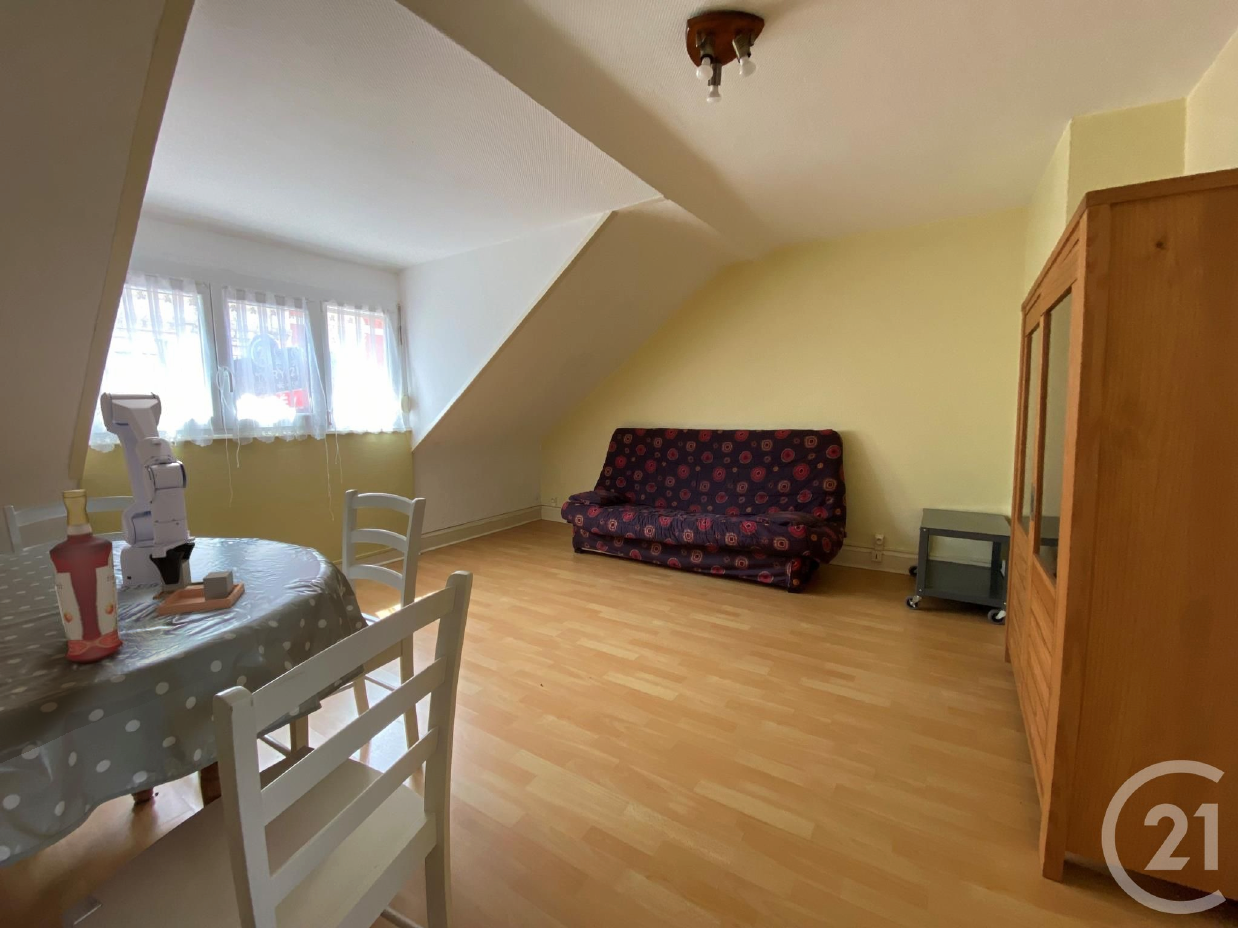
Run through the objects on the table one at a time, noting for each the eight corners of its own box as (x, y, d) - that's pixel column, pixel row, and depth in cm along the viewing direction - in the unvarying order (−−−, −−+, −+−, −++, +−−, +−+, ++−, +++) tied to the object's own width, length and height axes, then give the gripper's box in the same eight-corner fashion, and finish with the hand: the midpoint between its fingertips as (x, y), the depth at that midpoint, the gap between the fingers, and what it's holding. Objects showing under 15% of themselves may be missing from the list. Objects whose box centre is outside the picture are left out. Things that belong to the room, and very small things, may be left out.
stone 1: (161, 591, 117) (159, 566, 116) (169, 585, 120) (166, 560, 120) (184, 589, 118) (182, 564, 117) (191, 582, 122) (189, 559, 121)
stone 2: (205, 604, 112) (202, 578, 111) (212, 597, 115) (209, 572, 115) (228, 601, 113) (226, 576, 112) (234, 595, 117) (232, 570, 116)
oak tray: (152, 601, 115) (152, 597, 114) (168, 588, 122) (168, 584, 122) (221, 594, 119) (220, 589, 119) (232, 582, 126) (231, 578, 126)
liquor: (125, 657, 91) (104, 491, 87) (63, 672, 86) (37, 497, 82) (125, 642, 96) (106, 485, 92) (67, 655, 91) (43, 490, 88)
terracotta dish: (158, 617, 106) (156, 607, 106) (178, 599, 116) (177, 589, 115) (231, 609, 111) (230, 598, 110) (244, 592, 120) (243, 582, 120)
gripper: (179, 525, 112) (186, 589, 114) (203, 510, 125) (209, 567, 127) (136, 528, 109) (143, 593, 111) (166, 513, 123) (172, 571, 125)
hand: (176, 580), depth 119 cm, fingers closed on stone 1, 4 cm apart
